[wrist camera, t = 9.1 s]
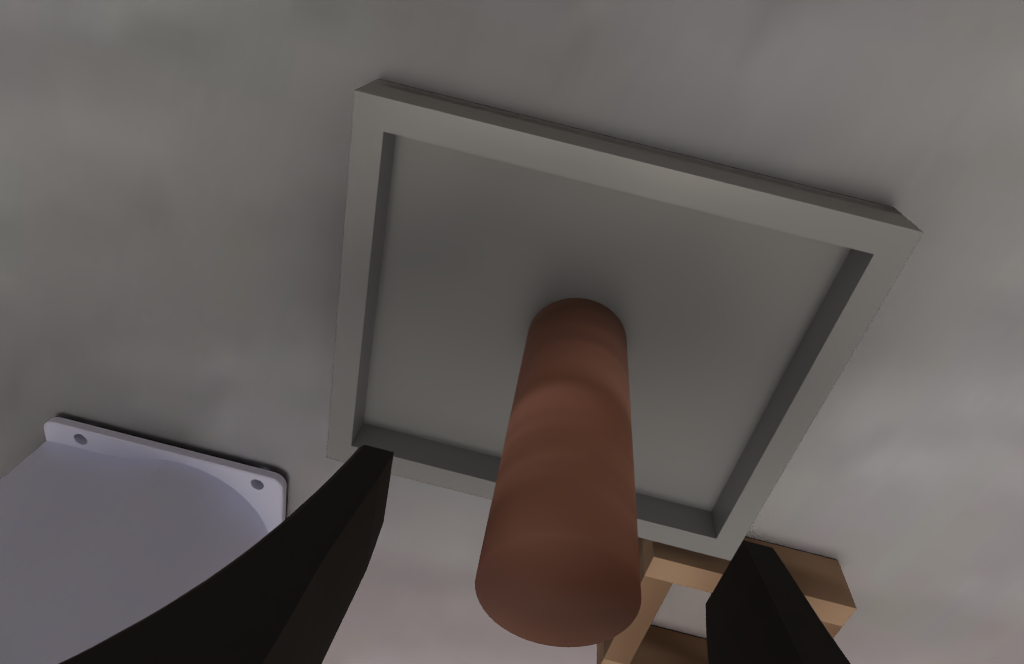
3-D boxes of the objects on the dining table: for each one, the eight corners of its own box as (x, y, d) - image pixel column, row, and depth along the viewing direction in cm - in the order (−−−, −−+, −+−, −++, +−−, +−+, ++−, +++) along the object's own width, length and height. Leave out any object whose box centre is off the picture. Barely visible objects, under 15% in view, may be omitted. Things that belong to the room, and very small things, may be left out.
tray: (345, 424, 23) (326, 457, 21) (378, 79, 17) (354, 90, 15) (722, 520, 23) (730, 560, 21) (894, 207, 17) (923, 231, 15)
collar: (597, 627, 27) (596, 673, 25) (650, 512, 23) (653, 556, 21) (759, 669, 26) (770, 718, 25) (838, 560, 23) (856, 608, 21)
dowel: (518, 370, 20) (462, 624, 12) (539, 287, 18) (491, 517, 11) (610, 393, 20) (613, 662, 12) (639, 312, 18) (664, 560, 11)
